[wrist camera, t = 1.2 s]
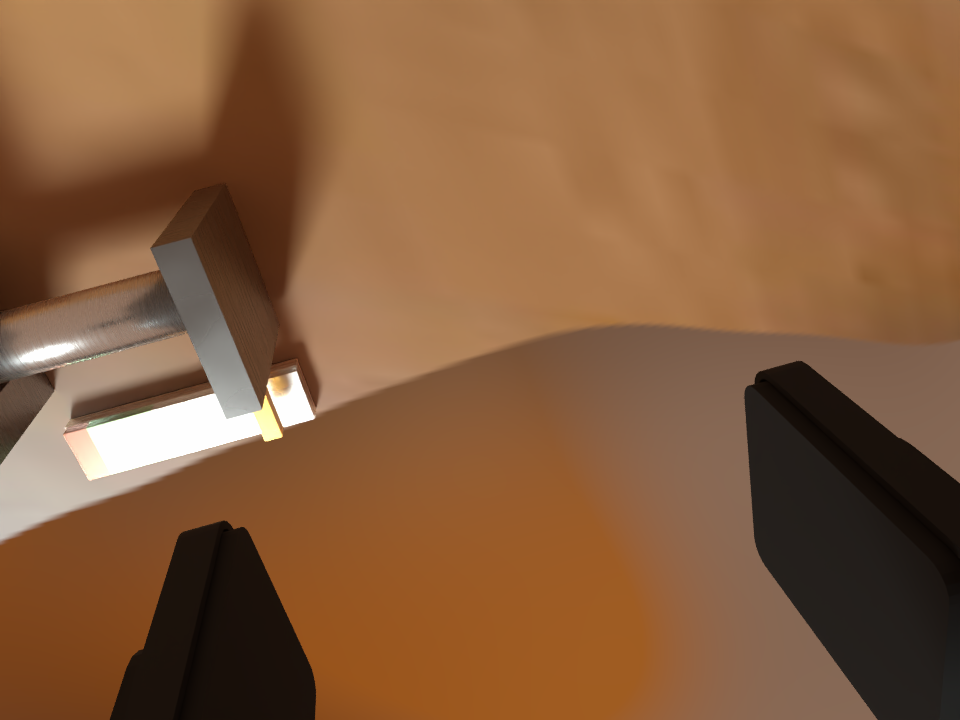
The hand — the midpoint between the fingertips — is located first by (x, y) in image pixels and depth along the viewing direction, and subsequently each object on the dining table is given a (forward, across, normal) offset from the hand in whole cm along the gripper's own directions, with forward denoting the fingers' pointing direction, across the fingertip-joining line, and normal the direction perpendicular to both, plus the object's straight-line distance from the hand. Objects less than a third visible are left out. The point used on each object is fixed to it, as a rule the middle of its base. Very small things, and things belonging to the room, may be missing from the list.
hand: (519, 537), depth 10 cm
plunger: (+17, +11, +2) cm, 20 cm away
